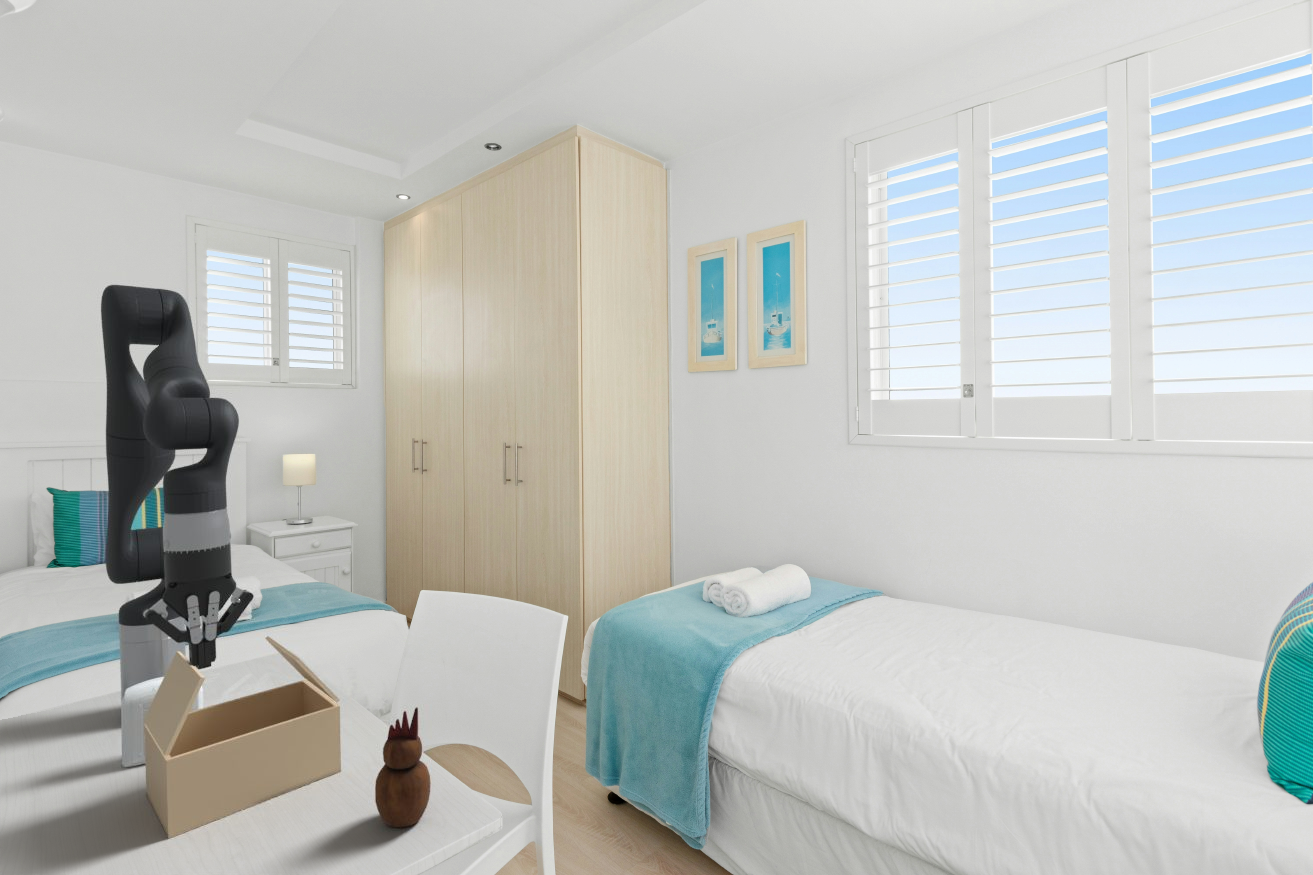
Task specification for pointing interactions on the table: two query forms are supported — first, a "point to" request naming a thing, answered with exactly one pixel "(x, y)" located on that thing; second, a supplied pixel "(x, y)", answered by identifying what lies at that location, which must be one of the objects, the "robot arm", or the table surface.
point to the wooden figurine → (402, 776)
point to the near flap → (173, 702)
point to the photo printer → (140, 718)
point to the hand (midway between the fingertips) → (202, 666)
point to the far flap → (302, 669)
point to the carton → (242, 755)
